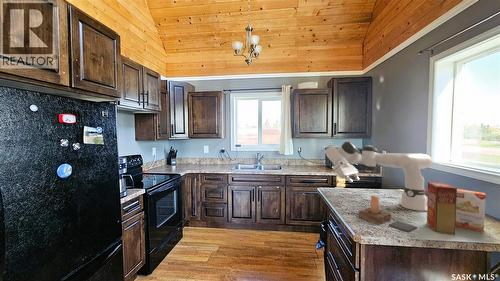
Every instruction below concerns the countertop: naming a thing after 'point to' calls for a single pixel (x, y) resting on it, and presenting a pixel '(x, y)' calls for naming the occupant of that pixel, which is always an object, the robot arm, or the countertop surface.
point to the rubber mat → (402, 226)
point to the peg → (375, 205)
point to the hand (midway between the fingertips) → (355, 181)
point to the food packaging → (441, 207)
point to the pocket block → (375, 216)
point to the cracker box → (470, 209)
